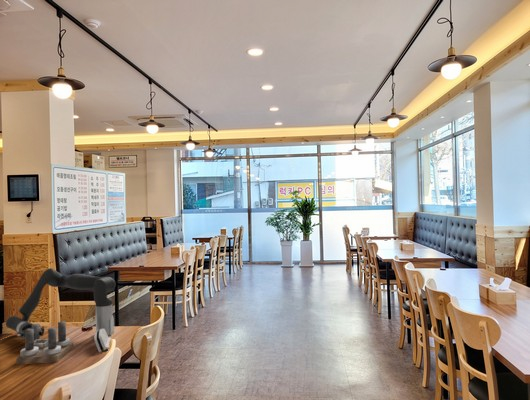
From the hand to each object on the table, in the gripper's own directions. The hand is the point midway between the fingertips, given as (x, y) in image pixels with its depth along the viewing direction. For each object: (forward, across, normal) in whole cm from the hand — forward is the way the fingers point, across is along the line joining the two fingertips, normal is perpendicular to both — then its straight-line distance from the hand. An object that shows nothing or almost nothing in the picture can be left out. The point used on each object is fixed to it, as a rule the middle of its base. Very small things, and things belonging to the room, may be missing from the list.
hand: (37, 334), depth 205 cm
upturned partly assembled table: (+16, -2, +7) cm, 17 cm away
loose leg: (-3, 0, +7) cm, 8 cm away
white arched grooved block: (+27, +23, +7) cm, 36 cm away
